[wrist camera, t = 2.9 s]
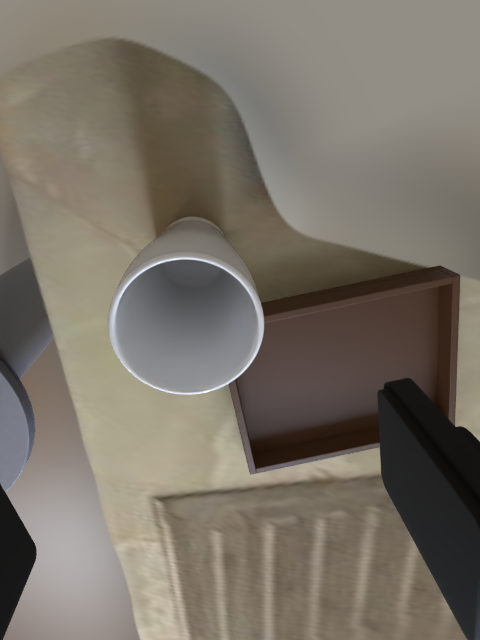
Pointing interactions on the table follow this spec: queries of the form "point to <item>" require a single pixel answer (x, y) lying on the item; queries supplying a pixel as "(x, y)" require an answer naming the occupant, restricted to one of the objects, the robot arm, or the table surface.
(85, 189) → the table surface
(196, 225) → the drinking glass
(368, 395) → the tray
